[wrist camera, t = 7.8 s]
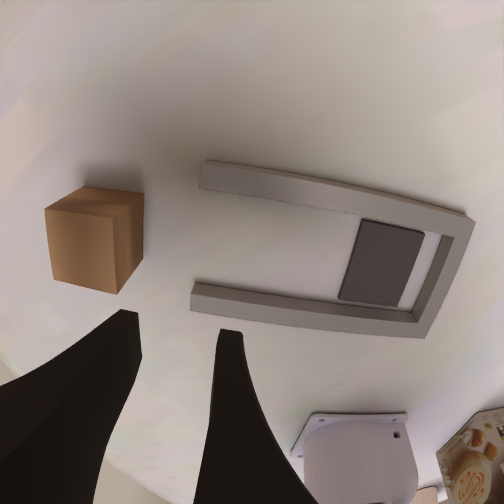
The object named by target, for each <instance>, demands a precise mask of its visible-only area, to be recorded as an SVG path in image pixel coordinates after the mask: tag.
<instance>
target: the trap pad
mask: <svg viewBox="0 0 504 504" xmlns="http://www.w3.org/2000/svg"><path fill="white" fill-rule="evenodd" d="M424 236H425V234H424V233H423V232H420V231H415V230H411V229H406V228H402V227H397V226H393V225H388V224H383V223H378V222H374V221H369V220H364V219H362V221H361V224H360V228H359V231H358V235H357V238H356V242H355V245H354V248H353V252H352V255H351V258H350V261H349V265H348V268H347V271H346V274H345V277H344V280H343V283H342V286H341V289H340V292H339V295H338V299H339V300H345V301H353V302H361V303H369V304H377V305H386V306H394V307H397V305H398V303H399V301H400V298H401V296H402V294H403V291H404V289H405V286H406V284H407V282H408V279H409V277H410V274H411V271H412V269H413V266H414V264H415V261H416V258H417V256H418V253H419V250H420V247H421V245H422V242H423V239H424Z"/></svg>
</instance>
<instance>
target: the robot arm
mask: <svg viewBox="0 0 504 504" xmlns="http://www.w3.org/2000/svg"><path fill="white" fill-rule="evenodd" d="M141 360H142V351H141V341H140V330H139V318H138V313H137V312H132V311H128V310H123V309H120V310H119V311H118V312H116V313H115V314H113V315H112V316H111V317H109V318H108V319H107V320H105V321H104V322H103V323H102V324H100V325H99V326H98V327H96V328H95V329H94V330H92V331H91V332H90V333H88V334H87V335H86V336H84V337H83V338H82V339H80V340H79V341H78V342H76V343H75V344H74V345H72V346H71V347H69V348H68V349H66V350H65V351H63V352H62V353H60V354H59V355H57V356H56V357H55V358H53V359H52V360H50V361H48V362H47V363H45V364H43V365H42V366H40V367H38V368H36V369H35V370H33V371H31V372H29V373H27V374H25V375H23V376H21V377H19V378H17V379H15V380H13V381H10V382H8V383H6V384H4V385H2V386H0V504H93V499H94V494H95V489H96V484H97V480H98V475H99V472H100V467H101V464H102V460H103V457H104V454H105V450H106V447H107V444H108V441H109V438H110V436H111V433H112V431H113V429H114V426H115V424H116V422H117V420H118V418H119V415H120V413H121V411H122V409H123V407H124V404H125V402H126V400H127V398H128V396H129V393H130V391H131V389H132V387H133V384H134V382H135V379H136V376H137V373H138V370H139V366H140V363H141ZM407 419H408V416H407V414H380V415H342V414H313V415H311V416H310V418H309V420H308V422H307V424H306V426H305V428H304V430H303V431H302V433H301V435H300V437H299V439H298V441H297V442H296V444H295V446H294V448H293V450H292V451H291V453H290V456H291V457H292V458H303V460H304V484H305V485H304V484H303V483H302V481H301V480H300V478H299V477H298V475H297V474H296V472H295V471H294V469H293V468H292V466H291V465H290V463H289V462H288V460H287V459H286V457H285V455H284V454H283V452H282V450H281V448H280V446H279V445H278V443H277V441H276V439H275V437H274V435H273V433H272V431H271V429H270V427H269V425H268V423H267V421H266V418H265V416H264V414H263V411H262V409H261V406H260V404H259V401H258V398H257V396H256V393H255V390H254V387H253V383H252V380H251V377H250V373H249V370H248V366H247V361H246V356H245V351H244V342H243V334H242V333H241V332H239V331H233V330H227V329H220V333H219V336H218V340H217V345H216V354H215V363H214V372H213V382H212V392H211V403H210V417H209V426H208V431H207V437H206V442H205V447H204V452H203V457H202V462H201V467H200V472H199V477H198V482H197V487H196V493H195V498H194V502H193V504H410V503H411V502H412V500H413V499H414V497H415V495H416V492H417V487H418V470H417V466H416V462H415V459H414V455H413V451H412V448H411V444H410V441H409V437H408V434H407V430H406V427H405V424H404V422H405V421H406V420H407Z"/></svg>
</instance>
